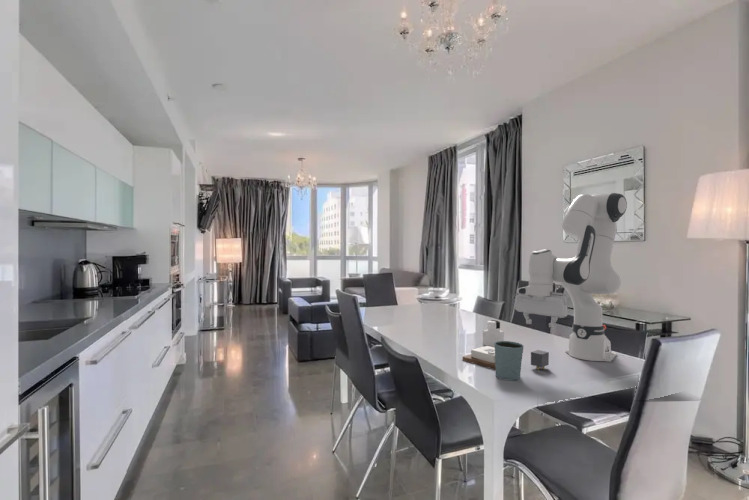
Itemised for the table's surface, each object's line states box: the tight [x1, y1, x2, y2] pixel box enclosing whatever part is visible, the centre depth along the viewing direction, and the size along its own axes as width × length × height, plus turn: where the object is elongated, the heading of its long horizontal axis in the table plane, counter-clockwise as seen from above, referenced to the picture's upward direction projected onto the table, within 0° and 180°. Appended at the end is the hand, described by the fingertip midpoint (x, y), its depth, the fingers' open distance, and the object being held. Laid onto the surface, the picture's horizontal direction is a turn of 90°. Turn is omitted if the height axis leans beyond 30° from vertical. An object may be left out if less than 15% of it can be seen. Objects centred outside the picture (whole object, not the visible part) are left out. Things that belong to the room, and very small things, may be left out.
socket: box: [470, 345, 495, 363], centre depth 166 cm, size 11×11×4 cm
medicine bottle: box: [482, 319, 505, 348], centre depth 192 cm, size 7×7×12 cm
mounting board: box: [462, 353, 496, 370], centre depth 166 cm, size 16×16×2 cm
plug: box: [530, 349, 550, 371], centre depth 156 cm, size 7×4×6 cm, turn 129°
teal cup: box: [494, 340, 525, 381], centre depth 146 cm, size 10×10×12 cm
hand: (540, 325), depth 156 cm, fingers open, 8 cm apart
